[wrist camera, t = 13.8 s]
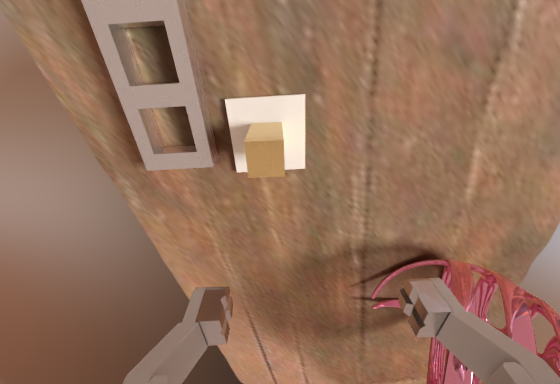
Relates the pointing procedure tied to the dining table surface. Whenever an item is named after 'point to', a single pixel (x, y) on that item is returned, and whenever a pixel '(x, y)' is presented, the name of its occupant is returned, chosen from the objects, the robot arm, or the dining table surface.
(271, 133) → the block
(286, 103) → the pad
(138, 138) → the rail
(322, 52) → the dining table surface
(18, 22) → the dining table surface
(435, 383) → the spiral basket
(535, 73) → the dining table surface
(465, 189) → the dining table surface
